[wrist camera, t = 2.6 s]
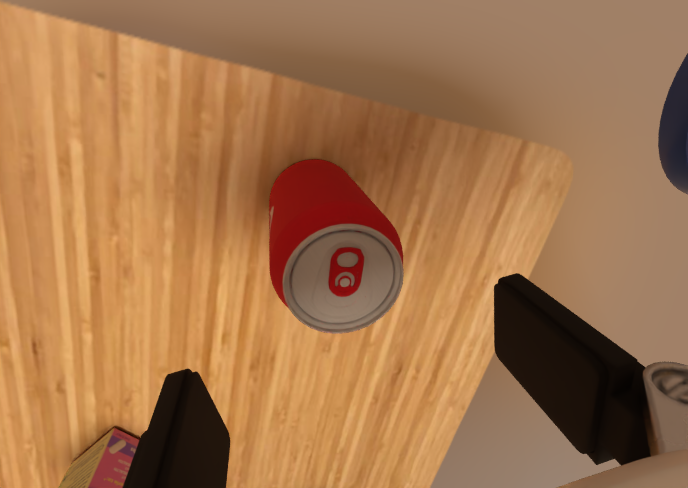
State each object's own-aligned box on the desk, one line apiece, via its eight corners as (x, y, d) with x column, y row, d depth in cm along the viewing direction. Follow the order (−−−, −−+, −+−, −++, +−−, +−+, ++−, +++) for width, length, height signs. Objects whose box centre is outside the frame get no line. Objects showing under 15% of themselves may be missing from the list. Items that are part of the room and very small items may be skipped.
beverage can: (268, 238, 26) (265, 345, 15) (270, 153, 24) (270, 209, 13) (350, 241, 27) (401, 341, 17) (361, 161, 25) (428, 217, 14)
